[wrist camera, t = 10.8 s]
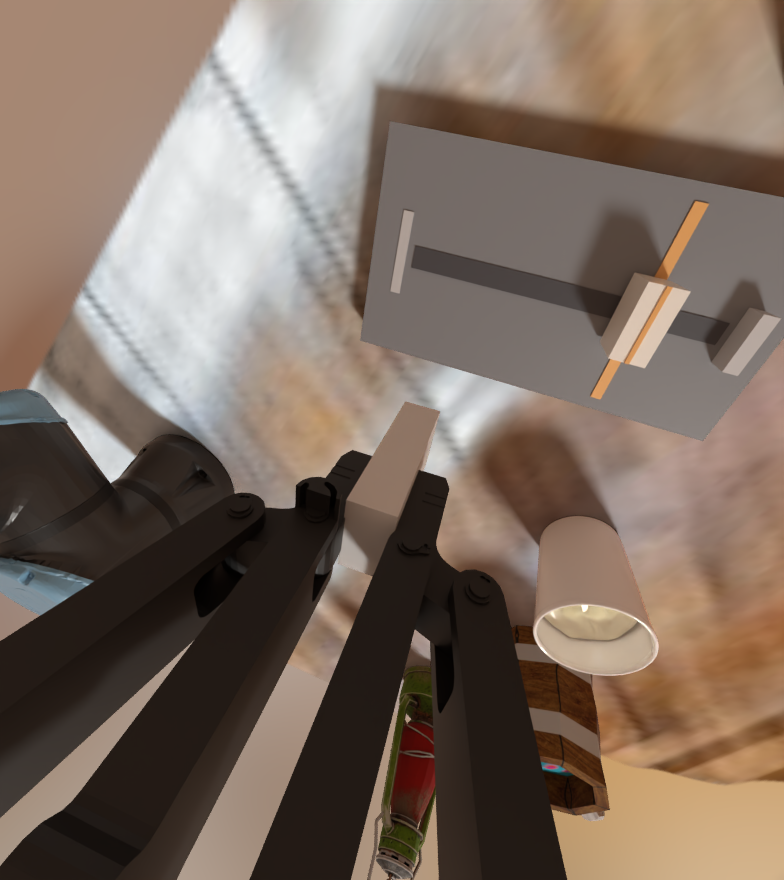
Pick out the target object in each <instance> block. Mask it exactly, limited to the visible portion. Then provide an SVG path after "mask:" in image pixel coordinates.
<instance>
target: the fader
mask: <svg viewBox="0 0 784 880" xmlns="http://www.w3.org/2000/svg"><path fill="white" fill-rule="evenodd" d="M690 292H691V291H689V290H687V289H685V288H683V287H682V286H680V285H678V284H676V283H674V282H672V281H669V280H665V279H661V278H657V277H652V276H648V275H644V274H640V273H634V275H633V277H632V279H631V281H630V282H629V284H628V286H627V288H626V290H625V292H624V294H623V296H622V298H621V300H620V302H619V304H618V306H617V308H616V310H615V312H614V314H613V316H612V318H611V320H610V322H609V324H608V326H607V328H606V330H605V332H604V334H603V336H602V338H601V340H600V343H601V345H602V347H603V349H604V351H605V353H606V355H607V357H608V359H612V360H616V361H620V362H623V363H625V364H631V365H634V366H638V367H642V368H645V367H646V366H647V364H648V362H649V361H650V359H651V357H652V356H653V354H654V352H655V351H656V349H657V347H658V346H659V344H660V342H661V341H662V339H663V337H664V336H665V334H666V332H667V331H668V329H669V327H670V326H671V324H672V322H673V321H674V319H675V317H676V316H677V314H678V312H679V311H680V309H681V307H682V306H683V304H684V302H685V301H686V299H687V297H688V296H689V294H690Z"/></svg>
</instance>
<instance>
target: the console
mask: <svg viewBox="0 0 784 880" xmlns="http://www.w3.org/2000/svg"><path fill="white" fill-rule="evenodd" d="M634 273H640V274H644V275H648V276H652V277H657V278H661V279H665V280H669V281H672V282H674V283H676V284H678V285H680V286H682V287H683V288H685V289H687V290H689V291H691V292H690V294H689V296H688V297H687V299H686V301H685V302H684V304H683V306H682V307H681V309H680V311H679V312H678V314H677V316H676V317H675V319H674V321H673V322H672V324H671V326H670V327H669V329H668V331H667V332H666V334H665V336H664V337H663V339H662V341H661V342H660V344H659V346H658V347H657V349H656V351H655V352H654V354H653V356H652V357H651V359H650V361H649V362H648V364H647V366H646V367H645V368H642V367H638V366H634V365H631V364H625V363H623V362H620V361H616V360H612V359H608V357H607V355H606V353H605V351H604V349H603V347H602V345H601V343H600V340H601V338H602V336H603V334H604V332H605V330H606V328H607V326H608V324H609V322H610V320H611V318H612V316H613V314H614V312H615V310H616V308H617V306H618V304H619V302H620V300H621V298H622V296H623V294H624V292H625V290H626V288H627V286H628V284H629V282H630V281H631V279H632V277H633V275H634ZM783 338H784V197H779V196H774V195H769V194H764V193H758V192H753V191H748V190H743V189H738V188H733V187H727V186H722V185H717V184H712V183H707V182H702V181H697V180H691V179H686V178H681V177H676V176H671V175H666V174H660V173H655V172H650V171H645V170H640V169H635V168H629V167H624V166H619V165H614V164H609V163H604V162H599V161H593V160H588V159H583V158H578V157H573V156H568V155H562V154H557V153H552V152H547V151H542V150H537V149H531V148H526V147H521V146H516V145H511V144H506V143H501V142H495V141H490V140H485V139H480V138H475V137H470V136H464V135H459V134H454V133H449V132H444V131H439V130H434V129H428V128H423V127H418V126H413V125H408V124H403V123H397V122H392V121H390V125H389V132H388V139H387V147H386V154H385V162H384V169H383V176H382V184H381V191H380V198H379V206H378V213H377V221H376V228H375V235H374V243H373V250H372V258H371V265H370V272H369V280H368V287H367V295H366V302H365V309H364V317H363V324H362V331H361V339H360V341H364V342H367V343H371V344H374V345H377V346H381V347H384V348H388V349H391V350H394V351H398V352H401V353H405V354H408V355H411V356H415V357H418V358H422V359H425V360H428V361H432V362H435V363H439V364H442V365H445V366H449V367H452V368H456V369H459V370H462V371H466V372H469V373H473V374H476V375H479V376H483V377H486V378H490V379H493V380H496V381H500V382H503V383H507V384H510V385H513V386H517V387H520V388H524V389H527V390H530V391H534V392H537V393H541V394H544V395H547V396H551V397H554V398H558V399H561V400H564V401H568V402H571V403H575V404H578V405H581V406H585V407H588V408H592V409H595V410H598V411H602V412H605V413H609V414H612V415H615V416H619V417H622V418H626V419H629V420H632V421H636V422H639V423H643V424H646V425H650V426H653V427H656V428H660V429H663V430H667V431H670V432H673V433H677V434H680V435H684V436H687V437H690V438H694V439H697V440H701V441H703V440H704V439H705V438H706V437H707V435H708V434H709V433H710V431H711V430H712V429H713V428H714V426H715V425H716V424H717V423H718V421H719V420H720V419H721V417H722V416H723V415H724V414H725V412H726V411H727V410H728V408H729V407H730V406H731V405H732V403H733V402H734V401H735V400H736V398H737V397H738V396H739V394H740V393H741V392H742V391H743V389H744V388H745V387H746V386H747V384H748V383H749V382H750V380H751V379H752V378H753V377H754V375H755V374H756V373H757V372H758V370H759V369H760V368H761V366H762V365H763V364H764V363H765V361H766V360H767V359H768V358H769V356H770V355H771V354H772V352H773V351H774V350H775V349H776V347H777V346H778V345H779V344H780V342H781V341H782V340H783Z"/></svg>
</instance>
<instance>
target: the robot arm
mask: <svg viewBox="0 0 784 880" xmlns="http://www.w3.org/2000/svg"><path fill="white" fill-rule="evenodd" d="M439 414H440V411H437V410H433V409H430V408H426V407H423V406H419V405H416V404H412V403H409V402H405V403H404V405H403V406H402V408H401V410H400V411H399V413H398V415H397V416H396V418H395V420H394V421H393V423H392V425H391V426H390V428H389V430H388V431H387V433H386V435H385V436H384V438H383V440H382V441H381V443H380V445H379V446H378V448H377V450H376V451H375V453H374V455H373V456H370V455H367V454H363V453H360V452H357V451H354V450H352V451H350V452H348V453H346V454H344V455H343V456H341V458H340V459H339V460H338V462H337V463H336V465H335V466H334V467H333V469H332V470H331V472H330V473H329V474H328V476H327V477H326V478H322V477H311V478H307V479H305V480H302V481H301V482H299V483H298V484H297V485H296V504H295V508H290V509H278V508H265V504H264V501H263V500H262V499H261V498H260V497H259V496H256V495H254V494H251V493H237V494H234V489H233V485H232V482H231V480H230V478H229V476H228V474H227V472H226V471H225V469H224V468H223V466H222V465H221V464H220V463H219V462H218V460H217V459H216V458H215V457H214V456H213V455H212V454H211V453H209V452H208V451H207V450H206V449H204V448H203V447H202V446H200V445H199V444H197V443H195V442H193V441H192V440H189V439H187V438H184V437H181V436H177V435H163V436H160V437H158V438H156V439H155V440H153V441H152V442H150V443H148V444H147V445H145V446H144V447H143V448H142V449H141V451H140V452H139V454H138V456H137V457H136V458H135V459H134V460H133V461H132V462H131V463H130V465H129V466H128V467H127V468H126V470H125V471H124V472H123V473H122V475H121V476H120V477H119V478H118V479H116V480H115V481H114V482H112V483H111V484H110V482H109V481H108V480H107V478H106V477H105V475H104V474H103V473H102V471H101V470H100V469H99V467H98V466H97V465H96V463H95V462H94V460H93V459H92V458H91V456H90V455H89V454H88V452H87V451H86V449H85V448H84V447H83V445H82V444H81V442H80V441H79V440H78V438H77V437H76V436H75V434H74V433H73V431H72V430H71V429H70V427H69V426H68V425H67V423H68V422H67V420H66V419H64V418H62V417H61V416H60V415H59V414H58V413H57V412H56V410H55V409H54V408H53V407H52V406H51V404H50V403H49V402H48V401H47V399H46V398H45V397H44V396H43V395H41V394H40V393H38V392H36V391H33V390H28V389H15V390H9V391H3V392H0V592H1V593H3V594H4V595H5V596H7V597H8V598H10V599H11V600H13V601H14V602H16V603H18V604H20V605H21V606H23V607H25V608H26V609H28V610H30V611H32V612H34V613H36V614H38V615H40V616H39V617H38V618H36V619H34V620H33V621H31V622H30V623H28V624H26V625H25V626H23V627H22V628H20V629H19V630H17V631H15V632H14V633H12V634H11V635H9V636H8V637H6V638H5V639H3V640H1V641H0V817H2V816H3V815H4V814H5V813H6V812H7V811H8V810H9V809H10V808H11V807H13V806H14V805H15V804H16V803H17V802H18V801H19V800H20V799H21V798H22V797H23V796H24V795H26V794H27V793H28V792H29V791H30V790H31V789H32V788H33V787H34V786H35V785H37V784H38V783H39V782H40V781H41V780H42V779H43V778H44V777H45V776H46V775H47V774H48V773H50V772H51V771H52V770H53V769H54V768H55V767H56V766H57V765H58V764H59V763H61V762H62V761H63V760H64V759H65V758H66V757H67V756H68V755H69V754H70V753H71V752H73V750H74V749H76V748H77V747H78V746H79V745H80V744H81V743H82V742H83V741H85V740H86V739H87V738H88V737H89V736H90V735H91V734H92V733H93V732H94V731H95V730H96V729H98V728H99V727H100V726H101V725H102V724H103V723H104V722H105V721H106V720H107V719H108V718H110V717H111V716H112V715H113V714H114V713H115V712H116V711H117V710H118V709H119V708H120V707H122V706H123V705H124V704H125V703H126V702H127V701H128V700H129V699H130V698H131V697H132V696H134V694H136V693H137V692H138V691H139V690H140V689H141V688H142V687H143V686H144V685H145V684H147V683H148V682H149V681H150V680H151V679H152V678H153V677H154V676H155V675H156V674H158V673H159V672H160V671H161V670H162V669H163V668H164V667H165V666H166V665H167V664H168V663H170V662H171V661H172V660H173V659H174V658H175V657H176V656H177V655H178V654H179V653H180V652H181V651H183V650H184V649H185V648H186V647H187V646H188V645H189V644H190V643H191V642H192V641H193V643H192V644H191V645H190V647H189V648H188V649H187V651H186V652H185V653H184V655H183V656H182V657H181V659H180V660H179V661H178V663H177V664H176V665H175V667H174V668H173V670H172V671H171V672H170V673H169V675H168V676H167V677H166V679H165V680H164V681H163V683H162V684H161V685H160V687H159V688H158V689H157V690H156V692H155V693H154V695H153V696H152V697H151V698H150V700H149V701H148V702H147V704H146V705H145V706H144V708H143V709H142V711H141V712H140V713H139V714H138V716H137V717H136V718H135V720H134V721H133V722H132V724H131V725H130V726H129V728H128V729H127V730H126V732H125V733H124V734H123V736H122V737H121V738H120V739H119V741H118V742H117V743H116V745H115V746H114V748H113V749H112V750H111V751H110V753H109V754H108V755H107V757H106V758H105V759H104V761H103V762H102V763H101V765H100V766H99V768H98V769H97V770H96V771H95V773H94V774H93V775H92V777H91V778H90V779H89V781H88V782H87V783H86V785H85V786H84V787H83V789H82V790H81V791H80V792H79V793H78V795H77V796H76V797H75V798H74V800H73V801H72V802H71V803H70V804H69V805H67V806H66V807H65V808H64V809H63V810H62V811H60V812H59V813H57V814H55V815H54V816H52V817H50V818H49V819H47V820H45V821H44V822H42V823H41V824H40V825H38V827H36V828H35V829H34V830H33V831H32V832H31V833H30V834H29V835H27V836H26V837H25V838H24V839H23V840H22V841H21V843H20V844H19V845H18V846H17V847H16V848H15V849H14V850H13V852H12V853H11V854H10V855H9V856H8V857H7V859H6V860H5V861H4V862H3V863H2V865H1V866H0V880H177V878H178V876H179V874H180V872H181V869H182V867H183V865H184V863H185V861H186V859H187V858H188V855H189V854H190V852H191V850H192V848H193V846H194V844H195V842H196V840H197V838H198V836H199V834H200V832H201V830H202V828H203V826H204V824H205V822H206V820H207V819H208V817H209V814H210V813H211V811H212V809H213V807H214V805H215V803H216V801H217V799H218V797H219V795H220V793H221V791H222V789H223V787H224V785H225V783H226V781H227V779H228V778H229V776H230V774H231V772H232V770H233V768H234V766H235V764H236V762H237V760H238V758H239V756H240V754H241V752H242V750H243V748H244V746H245V744H246V742H247V740H248V738H249V737H250V735H251V732H252V731H253V729H254V727H255V725H256V723H257V721H258V719H259V717H260V715H261V713H262V711H263V709H264V707H265V705H266V703H267V701H268V699H269V697H270V696H271V693H272V692H273V690H274V688H275V686H276V684H277V682H278V680H279V678H280V676H281V674H282V672H283V670H284V668H285V666H286V664H287V662H288V660H289V658H290V656H291V655H292V653H293V651H294V649H295V647H296V645H297V643H298V641H299V639H300V637H301V635H302V633H303V631H304V629H305V627H306V625H307V623H308V621H309V619H310V617H311V615H312V614H313V612H314V610H315V608H316V606H317V604H318V602H319V600H320V598H321V596H322V594H323V592H324V590H325V588H326V586H327V584H328V582H329V580H330V578H331V575H332V570H333V565H334V563H335V561H336V559H337V557H338V555H339V558H338V564H340V565H343V566H346V567H349V568H351V569H354V570H357V571H360V572H362V573H365V574H368V575H371V576H373V577H372V580H371V582H370V585H369V587H368V590H367V592H366V594H365V597H364V599H363V602H362V604H361V607H360V609H359V612H358V614H357V617H356V619H355V622H354V624H353V626H352V629H351V631H350V634H349V636H348V639H347V641H346V644H345V646H344V649H343V651H342V653H341V656H340V658H339V661H338V663H337V666H336V668H335V671H334V673H333V676H332V678H331V681H330V683H329V685H328V688H327V690H326V693H325V695H324V698H323V700H322V703H321V705H320V708H319V710H318V713H317V715H316V717H315V720H314V722H313V725H312V727H311V730H310V732H309V735H308V737H307V740H306V742H305V745H304V747H303V749H302V752H301V755H300V757H299V759H298V762H297V764H296V767H295V769H294V772H293V774H292V776H291V779H290V781H289V784H288V786H287V789H286V791H285V794H284V796H283V799H282V801H281V803H280V806H279V808H278V811H277V813H276V816H275V818H274V821H273V823H272V826H271V828H270V831H269V833H268V835H267V838H266V840H265V843H264V845H263V848H262V850H261V853H260V856H259V858H258V860H257V863H256V865H255V867H254V870H253V872H252V875H251V877H250V880H351V876H352V872H353V868H354V865H355V861H356V857H357V853H358V849H359V845H360V841H361V837H362V833H363V829H364V825H365V821H366V817H367V814H368V810H369V806H370V802H371V798H372V794H373V790H374V786H375V782H376V778H377V774H378V771H379V767H380V762H381V759H382V755H383V751H384V747H385V743H386V739H387V735H388V731H389V727H390V724H391V720H392V715H393V712H394V708H395V704H396V700H397V696H398V692H399V688H400V684H401V681H402V677H403V673H404V669H405V665H406V661H407V657H408V653H409V649H410V645H411V641H412V637H413V634H414V630H417V631H418V632H419V633H420V634H422V635H423V636H424V637H425V638H427V639H428V640H429V641H430V652H431V679H432V706H433V733H434V760H435V787H436V812H437V839H438V865H439V880H567V877H566V872H565V868H564V864H563V859H562V854H561V850H560V845H559V841H558V836H557V832H556V827H555V823H554V818H553V814H552V809H551V805H550V800H549V796H548V791H547V787H546V783H545V778H544V774H543V769H542V765H541V760H540V756H539V751H538V747H537V742H536V738H535V733H534V729H533V724H532V720H531V715H530V711H529V706H528V702H527V697H526V693H525V688H524V684H523V679H522V675H521V670H520V666H519V661H518V657H517V652H516V648H515V644H514V639H513V635H512V630H511V626H510V621H509V617H508V612H507V608H506V603H505V599H504V595H503V592H502V590H501V588H500V586H499V585H498V583H497V582H496V581H495V580H494V579H493V578H492V577H490V576H489V575H487V574H486V573H484V572H481V571H478V570H465V571H462V572H459V571H457V570H456V569H454V568H453V567H451V566H450V565H449V564H447V563H446V562H445V561H444V560H443V558H442V557H441V556H440V554H439V552H438V550H437V546H436V539H437V535H438V531H439V527H440V524H441V520H442V516H443V512H444V508H445V504H446V500H447V496H448V492H449V486H448V483H447V480H446V478H443V477H440V476H437V475H434V474H431V473H427V472H424V471H423V470H424V468H425V465H426V462H427V458H428V454H429V451H430V447H431V443H432V440H433V436H434V432H435V429H436V425H437V421H438V417H439Z"/></svg>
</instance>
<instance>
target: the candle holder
mask: <svg viewBox="0 0 784 880" xmlns="http://www.w3.org/2000/svg"><path fill="white" fill-rule="evenodd" d="M533 635H534V638H535V641H536V643H537V645H538V646H539V647H540V649H541V650H542V651H543V652H544V653H545V654H546V655H547V656H549V657H550V658H551V659H553V660H554V661H556V662H558V663H560V664H562V665H564V666H566V667H568V668H571V669H574V670H577V671H580V672H584V673H589V674H595V675H607V676H612V675H624V674H629V673H633V672H636V671H639V670H641V669H643V668H645V667H646V666H648V665H649V664H650V663H652V661H653V660H654V659H655V658H656V656H657V653H658V649H659V643H658V639H657V636H656V633H655V632H654V630H653V627H652V625H651V622H650V619H649V616H648V614H647V611H646V608H645V605H644V602H643V599H642V597H641V594H640V591H639V588H638V585H637V583H636V580H635V577H634V574H633V571H632V569H631V566H630V563H629V560H628V557H627V555H626V552H625V549H624V547H623V544H622V542H621V539H620V537H619V536H618V534H617V533H616V531H615V530H614V529H613V528H612V527H610V526H609V525H608V524H606V523H604V522H602V521H600V520H598V519H594V518H591V517H585V516H571V517H565V518H561V519H559V520H556V521H554V522H553V523H551V524H550V525H548V526H547V527H546V528H545V530H544V531H543V533H542V535H541V538H540V545H539V558H538V572H537V588H536V603H535V617H534V624H533Z"/></svg>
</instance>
